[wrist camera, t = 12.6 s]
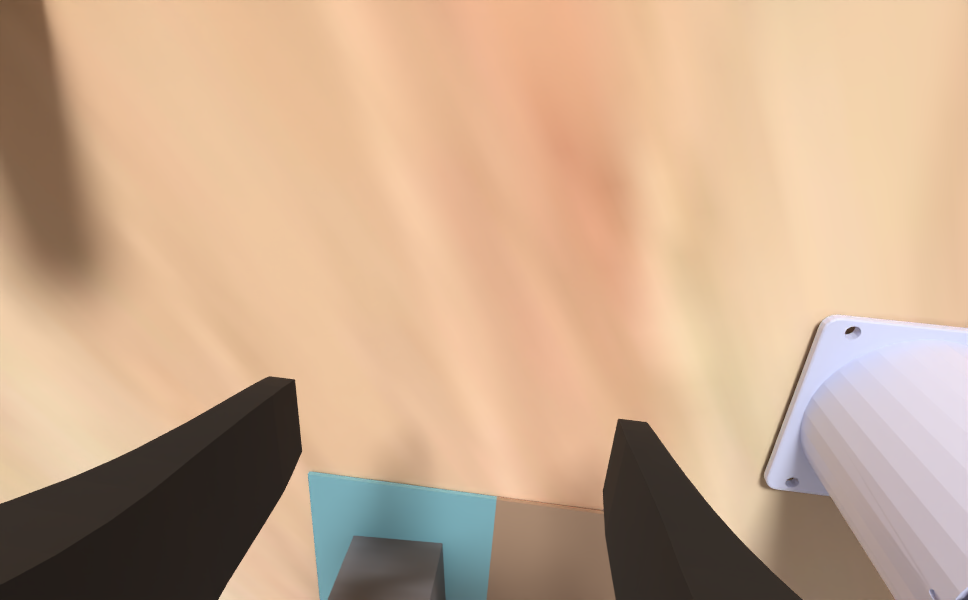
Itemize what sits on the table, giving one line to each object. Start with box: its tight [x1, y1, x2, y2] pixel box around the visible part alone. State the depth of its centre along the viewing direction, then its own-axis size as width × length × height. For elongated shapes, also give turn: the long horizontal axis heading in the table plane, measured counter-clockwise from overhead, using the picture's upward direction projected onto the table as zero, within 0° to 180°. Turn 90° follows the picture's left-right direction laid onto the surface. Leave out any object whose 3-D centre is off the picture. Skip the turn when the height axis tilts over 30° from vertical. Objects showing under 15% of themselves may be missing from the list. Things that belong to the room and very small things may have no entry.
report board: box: [308, 472, 616, 600], centre depth 27 cm, size 18×12×1 cm, turn 86°
